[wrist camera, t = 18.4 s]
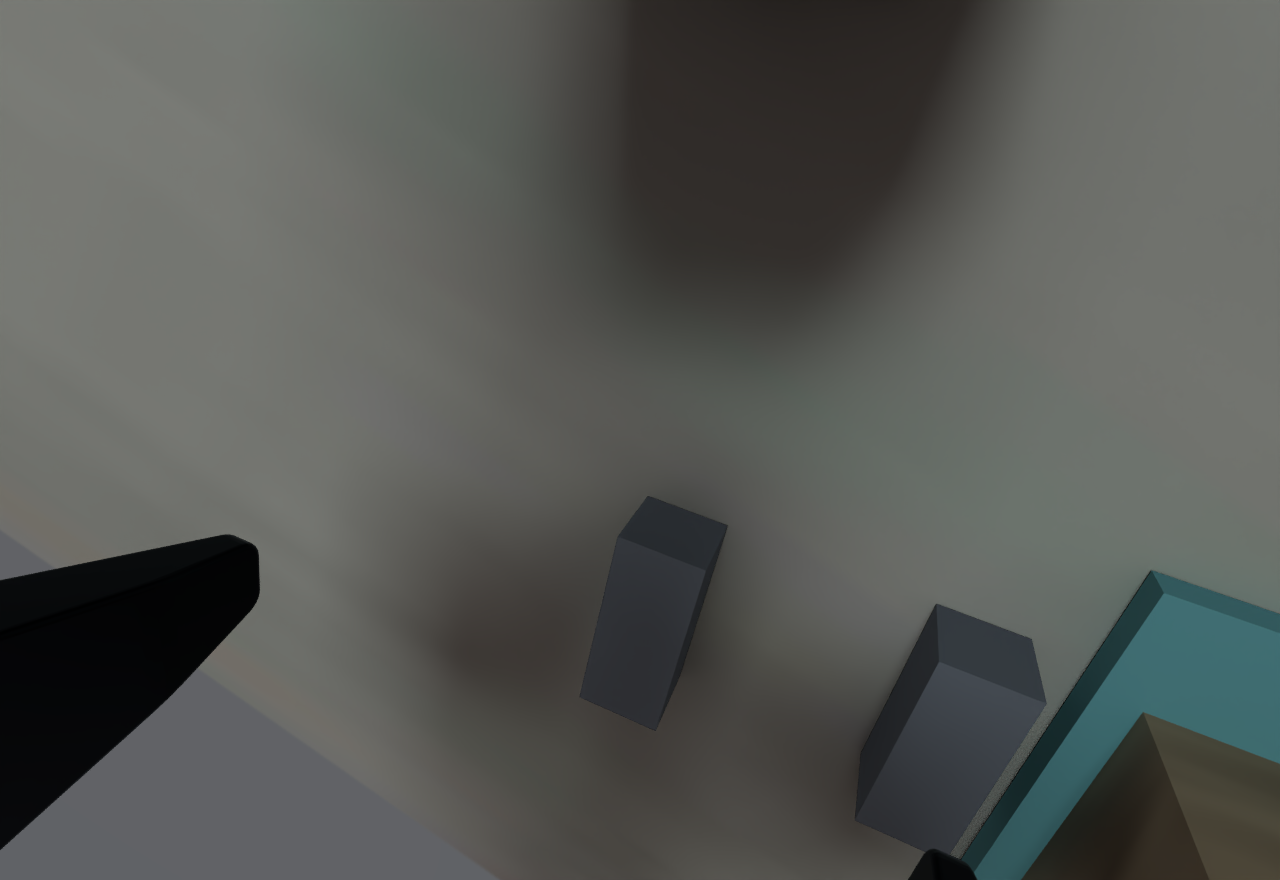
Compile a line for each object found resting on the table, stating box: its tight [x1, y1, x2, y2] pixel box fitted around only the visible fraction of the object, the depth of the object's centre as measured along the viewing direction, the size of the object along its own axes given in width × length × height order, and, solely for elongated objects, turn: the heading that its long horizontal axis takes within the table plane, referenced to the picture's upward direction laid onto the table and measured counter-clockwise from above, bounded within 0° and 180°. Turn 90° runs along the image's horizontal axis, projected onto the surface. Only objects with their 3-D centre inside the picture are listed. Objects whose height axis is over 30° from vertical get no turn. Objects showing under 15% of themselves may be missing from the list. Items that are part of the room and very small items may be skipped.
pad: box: [961, 571, 1280, 880], centre depth 19 cm, size 12×7×1 cm, turn 167°
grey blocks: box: [580, 496, 1047, 855], centre depth 21 cm, size 6×11×2 cm, turn 77°
